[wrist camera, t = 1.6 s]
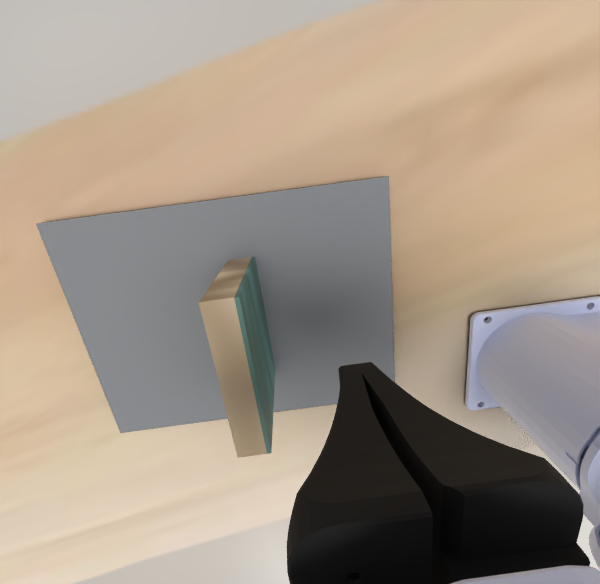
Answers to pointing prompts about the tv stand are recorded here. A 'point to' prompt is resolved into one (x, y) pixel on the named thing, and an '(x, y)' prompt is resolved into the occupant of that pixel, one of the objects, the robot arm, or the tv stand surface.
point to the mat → (200, 275)
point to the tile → (242, 353)
